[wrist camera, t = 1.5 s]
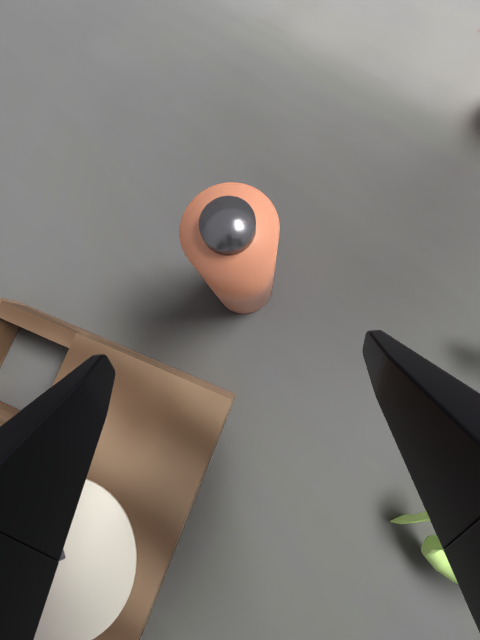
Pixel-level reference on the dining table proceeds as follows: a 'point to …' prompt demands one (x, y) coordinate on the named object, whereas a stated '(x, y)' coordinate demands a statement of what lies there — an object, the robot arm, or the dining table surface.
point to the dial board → (124, 482)
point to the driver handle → (233, 243)
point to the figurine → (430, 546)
